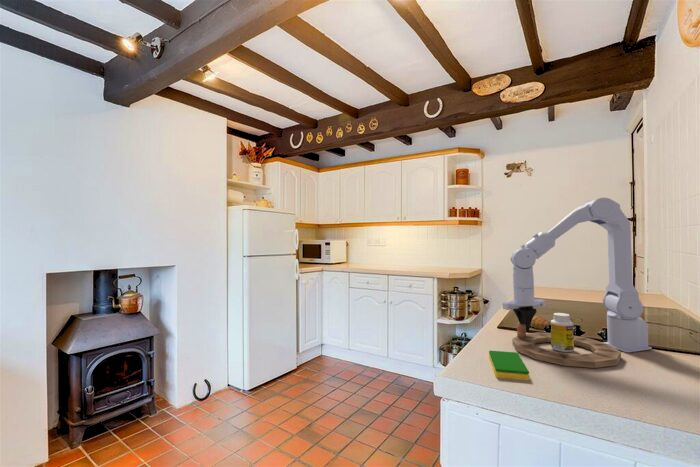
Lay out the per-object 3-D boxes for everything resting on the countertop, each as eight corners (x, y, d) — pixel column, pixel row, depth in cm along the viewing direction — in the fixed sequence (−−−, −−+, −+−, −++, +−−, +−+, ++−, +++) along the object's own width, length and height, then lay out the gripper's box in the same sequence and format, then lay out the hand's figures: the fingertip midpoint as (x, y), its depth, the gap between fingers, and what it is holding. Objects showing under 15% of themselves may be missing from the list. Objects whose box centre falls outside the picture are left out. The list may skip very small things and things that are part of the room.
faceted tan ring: (530, 332, 112) (530, 316, 113) (626, 349, 94) (625, 330, 94) (500, 351, 95) (499, 331, 95) (610, 375, 77) (609, 351, 77)
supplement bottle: (568, 354, 92) (567, 317, 93) (547, 349, 97) (546, 313, 97) (577, 350, 96) (576, 314, 96) (556, 345, 100) (555, 311, 100)
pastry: (557, 329, 118) (557, 318, 118) (544, 332, 115) (544, 321, 115) (533, 323, 127) (533, 313, 127) (521, 325, 124) (520, 315, 124)
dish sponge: (517, 361, 89) (517, 352, 89) (529, 382, 76) (529, 371, 76) (489, 358, 91) (488, 350, 91) (495, 379, 78) (495, 369, 78)
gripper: (532, 284, 110) (533, 325, 110) (495, 287, 106) (496, 329, 106) (550, 287, 104) (551, 331, 103) (511, 290, 100) (513, 335, 99)
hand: (525, 330), depth 104 cm, fingers closed
